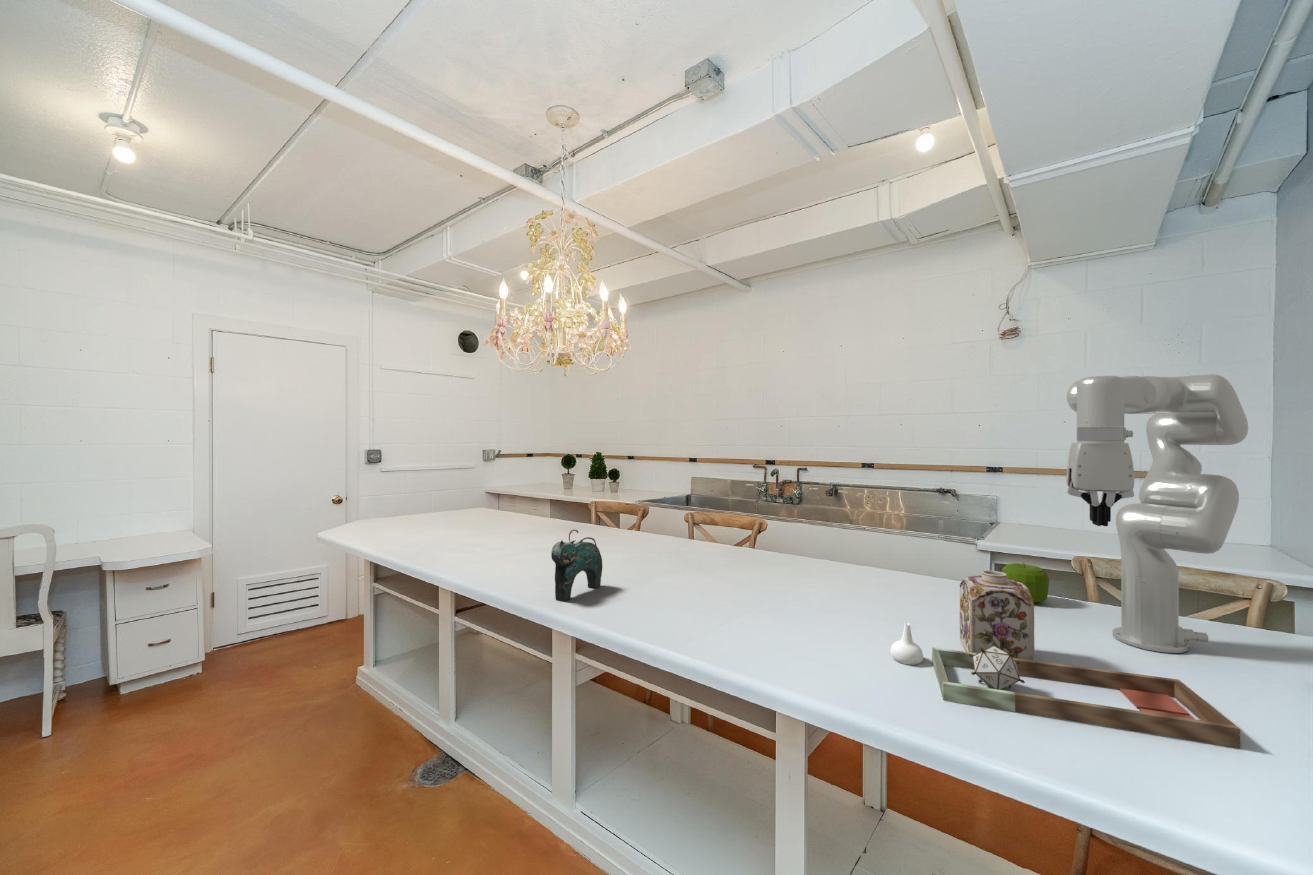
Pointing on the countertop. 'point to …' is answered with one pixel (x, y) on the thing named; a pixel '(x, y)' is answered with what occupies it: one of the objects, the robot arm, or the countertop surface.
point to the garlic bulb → (906, 649)
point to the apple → (1029, 579)
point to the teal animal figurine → (575, 565)
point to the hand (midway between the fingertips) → (1100, 524)
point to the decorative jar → (996, 615)
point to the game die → (996, 667)
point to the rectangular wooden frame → (1141, 690)
